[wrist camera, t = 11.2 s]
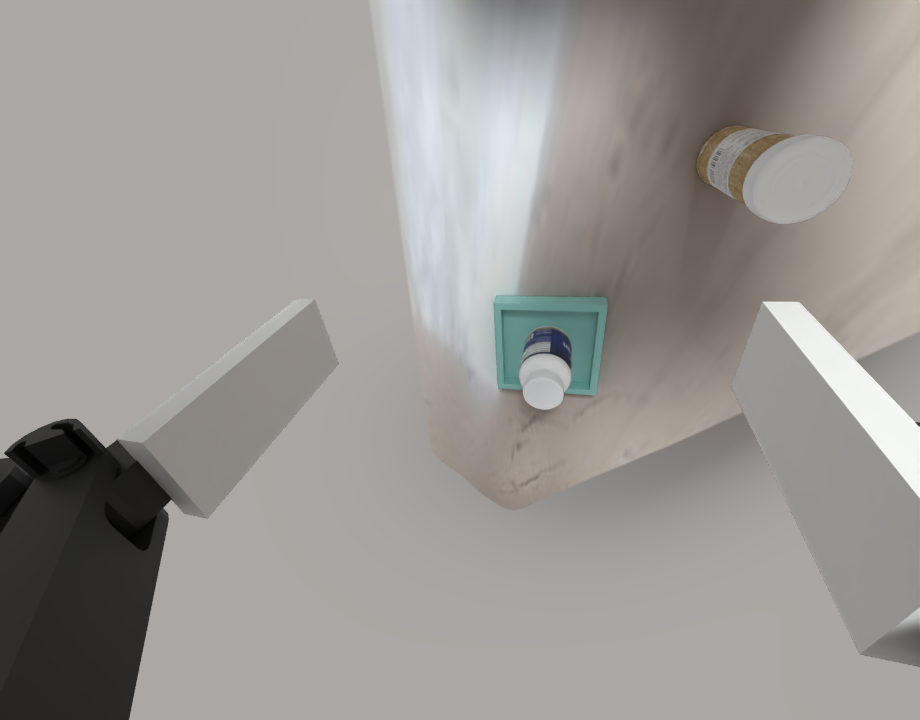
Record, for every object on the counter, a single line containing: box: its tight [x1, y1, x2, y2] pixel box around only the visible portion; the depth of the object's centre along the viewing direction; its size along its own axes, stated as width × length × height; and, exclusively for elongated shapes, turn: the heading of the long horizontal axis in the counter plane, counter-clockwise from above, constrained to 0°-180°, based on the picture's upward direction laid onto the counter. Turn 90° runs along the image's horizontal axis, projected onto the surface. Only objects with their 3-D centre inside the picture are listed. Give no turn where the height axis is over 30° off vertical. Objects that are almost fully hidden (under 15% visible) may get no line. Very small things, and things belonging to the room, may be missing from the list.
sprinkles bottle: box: [696, 126, 852, 224], centre depth 27 cm, size 5×5×13 cm
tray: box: [494, 296, 608, 396], centre depth 45 cm, size 12×12×2 cm
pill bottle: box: [519, 325, 572, 410], centre depth 41 cm, size 5×5×10 cm
